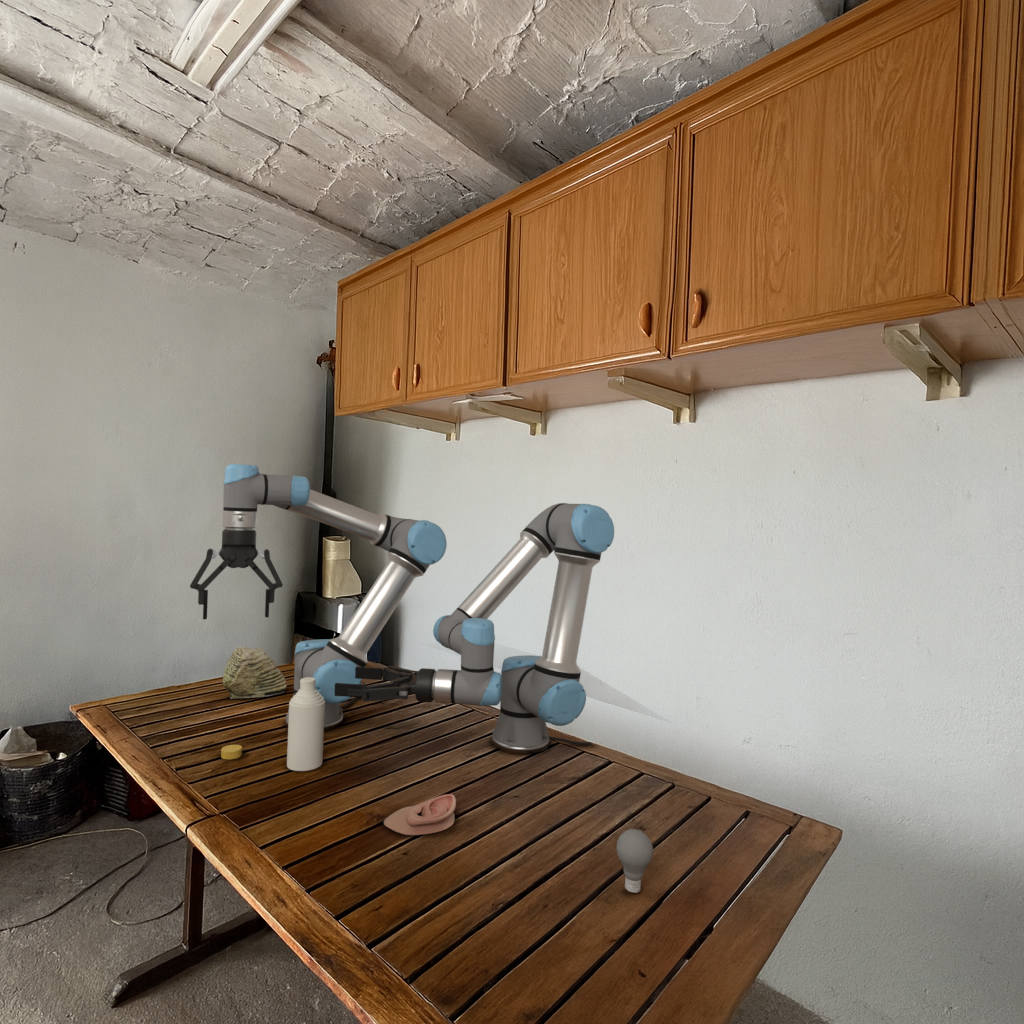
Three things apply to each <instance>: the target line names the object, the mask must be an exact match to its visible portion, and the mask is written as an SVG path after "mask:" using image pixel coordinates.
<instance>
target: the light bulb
mask: <svg viewBox="0 0 1024 1024" xmlns="http://www.w3.org/2000/svg"><path fill="white" fill-rule="evenodd" d="M615 849H616V854H617V857H618V859H619V861H620V863H621V865H622V867H623V873H624V874H623V875H624V876H625V878H624V888H625V890H627V891H628V892H630V893H634V894H635V893H639V892H640V891H641V889H642V887H641V886H642V879H643V877H644V875H645V871H646V868H647V867H648V866H649V864H650V863H651V861H652V859H653V855H654V847H653V843H652V841H651V838H649V836H648V835H647V834H646V833H645V832H643V831H642V830H641V829H636V828H629V829H627V830H625V831H623V832H622V833H621V834H620V835H619V837H618V839H617V841H616V847H615Z"/></svg>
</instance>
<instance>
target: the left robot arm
mask: <svg viewBox="0 0 1024 1024" xmlns="http://www.w3.org/2000/svg"><path fill="white" fill-rule="evenodd" d="M223 478H224V480H223V500H222V501H223V507H222V527H223V528H224V529H222V531H221V548H220V549H213V548H211V547H210V548H208V549H207V550H206V557H205V559H204V560H203V562H202V564H201V566H200V568H199V570H198V571H197V573H196V574H195V576H194V577H193V579H192V581H191V583H190V585H189V588H190V589H193V590H195V591H197V593H198V595H197V597H198V598H197V603H198V605H200V606H201V605H203V607H202V608H203V609H202V620H207V619H208V602H209V601H208V600H209V590H208V589H207V588H208V587H209V585H210V584H211V583H213V581H214V580H215V579H216V578H217V577H218V576H219V575H220V574H221V573H222V572H223V571H224V570H225V569H226V568H227V567H228V568H230V569H236V568H239V569H246V568H248V567H250V569H251V570H252V571H253V572H254V573H255V574H256V576H258V578H260V580H261V581H262V582H263V583H264V584H265V585H266V587H267V588H266V589H265V603H264V605H265V606H264V617H265V618H269V617H270V604H274V602H275V595H276V594H275V591H276V589H279V588H282V587H283V586H284V584H283V582H282V580H281V578H280V576H279V573H278V571H277V569H276V568H275V565H274V564H273V562H272V559H271V555H270V554H271V553H270V550H269V549H268V548H265V549H261V550H260V549H259V550H257V531H256V530H255V529H256V528H257V527H258V526H257V525H258V505H261V506H274V507H277V508H278V509H279V508H280V509H282V510H286V511H288V512H291V513H294V514H297V515H299V516H302V517H305V518H308V519H310V520H313V521H316V522H319V523H322V524H325V525H327V526H330V527H333V528H335V529H338V530H341V531H343V532H347V533H350V534H353V535H355V536H358V537H361V538H364V539H365V540H368V541H369V543H370V545H372V546H375V547H378V548H380V549H383V550H385V551H386V552H387V558H388V562H386V564H385V566H384V568H383V569H382V571H381V572H380V573H379V575H378V577H377V578H376V579H375V581H374V583H373V584H372V586H371V588H370V589H368V591H367V593H366V595H365V596H364V598H363V600H362V601H361V602H360V604H359V605H358V607H357V608H356V610H355V612H353V614H352V616H351V617H350V619H349V620H348V622H347V623H346V625H345V626H344V628H343V630H342V631H341V632H340V634H339V636H336V637H334V638H329V639H328V638H326V639H325V638H324V639H307V640H302V641H299V642H297V644H295V650H294V655H293V656H294V672H293V673H294V674H293V696H294V695H296V693H297V692H298V690H300V680H301V679H302V678H306V677H312V678H315V680H316V682H315V689H317V691H318V692H319V694H321V696H323V698H324V700H325V711H324V732H325V731H329V730H332V729H335V728H337V727H339V726H340V725H342V723H343V722H344V714H343V709H345V708H347V707H349V706H351V704H352V703H353V702H355V701H357V700H359V699H361V697H345V696H335V683H346V684H362V681H363V679H356V678H355V667H367V664H368V657H367V654H368V652H369V650H370V649H371V647H372V646H373V645H374V643H375V641H376V640H377V638H378V636H379V635H380V633H381V631H382V630H383V629H384V627H385V625H386V624H387V622H388V621H389V619H390V618H391V616H392V614H393V613H394V611H395V610H396V608H397V607H398V605H399V603H400V602H401V600H402V599H403V597H404V596H405V594H406V593H407V591H408V590H409V588H410V586H411V585H412V583H413V582H414V580H415V579H416V578H419V577H422V576H424V575H425V573H426V572H427V570H428V569H429V567H430V566H432V565H435V564H437V563H438V562H439V561H441V560H442V559H443V557H444V555H445V553H446V551H447V547H448V546H447V545H448V543H447V537H446V534H445V532H444V530H443V529H442V528H441V527H440V526H439V525H438V524H436V523H435V522H432V521H429V520H427V519H425V520H424V519H422V520H419V519H412V518H403V517H402V518H401V517H397V516H396V517H395V516H392V515H389V514H386V513H380V514H376V513H373V512H371V511H369V510H366V509H363V508H361V507H359V506H356V505H352V504H350V503H348V502H345V501H343V500H339V499H337V498H334V497H332V496H329V495H326V494H324V493H321V492H319V491H316V490H313V489H311V486H310V485H311V484H310V481H309V479H308V478H307V477H306V476H301V475H296V474H295V475H294V474H293V475H289V474H288V475H286V474H266V473H260V468H259V466H257V465H255V464H241V463H231V464H228V465H226V466H225V468H224V477H223ZM217 556H219V557H220V558H221V559H222V562H221V563H220V564H219V565H217V567H216V568H215V569H214V570H213V572H211V573H210V574H209V576H207V577H206V579H205V580H204V581H203V582H201V583H199V582H200V580H201V578H202V577H203V575H204V573H205V572H206V570H207V568H208V566H209V565H210V563H211V561H212V560H213V559H216V557H217ZM258 556H260V558H261V559H263V560H264V561H265V563H266V566H267V567H268V570H269V571H270V574H271V575H272V576H271V577H273V579H274V581H275V582H274V583H273V582H272V581H271V580H270V579H269V577H268V576H267V575H266V574H265V572H263V570H262V569H261V568H260V567H259V566H258V565H257V564H256V562H255V561H254V560H256V558H257V557H258ZM368 694H369V693H368ZM347 701H349V702H347ZM345 702H347V703H346V704H344V705H341V704H342V703H345ZM288 721H289V709H288V711H287V713H286V715H285V726H286V728H288Z"/></svg>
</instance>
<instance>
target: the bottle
mask: <svg viewBox="0 0 1024 1024" xmlns="http://www.w3.org/2000/svg"><path fill="white" fill-rule="evenodd" d="M315 682H316V680H315V678H312V677H306V678H302V679H301V680H300V690H298V692H297V693H296V695H294V694H293V695H292V697H291V698H290V701H289V702H288V710H289V721H288V727H287V751H286V768H288V769H289V770H290V771H295V772H308V771H312V770H316V769H318V768H319V767H321V766H322V764H323V761H324V760H323V758H324V737H325V736H324V733H325V731H324V711H325V700H324V698H323V696H321V694H319V692H318V691H317V689H315Z"/></svg>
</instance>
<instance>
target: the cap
mask: <svg viewBox="0 0 1024 1024" xmlns="http://www.w3.org/2000/svg"><path fill="white" fill-rule="evenodd" d="M220 752H221V753H220V758H221V759H223V760H235V759H238V758H240V757H242V756H243V746H242V745H240V744H229V745H225V746H222V747H221V749H220Z"/></svg>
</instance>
